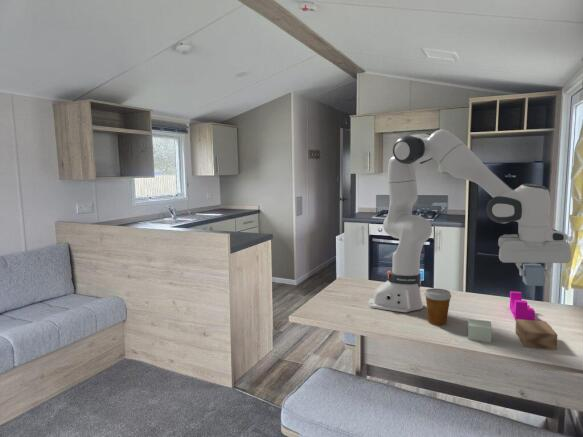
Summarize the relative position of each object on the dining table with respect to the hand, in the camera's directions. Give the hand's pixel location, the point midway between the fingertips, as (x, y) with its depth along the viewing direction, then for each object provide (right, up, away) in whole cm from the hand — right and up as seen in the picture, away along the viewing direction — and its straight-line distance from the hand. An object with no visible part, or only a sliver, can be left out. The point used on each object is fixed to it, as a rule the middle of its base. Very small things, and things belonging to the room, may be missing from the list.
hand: (533, 275), depth 131 cm
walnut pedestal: (+1, -22, +2) cm, 22 cm away
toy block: (+11, -20, +27) cm, 35 cm away
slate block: (0, -3, +1) cm, 3 cm away
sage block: (-15, -22, +6) cm, 27 cm away
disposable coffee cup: (-24, -21, +20) cm, 38 cm away
